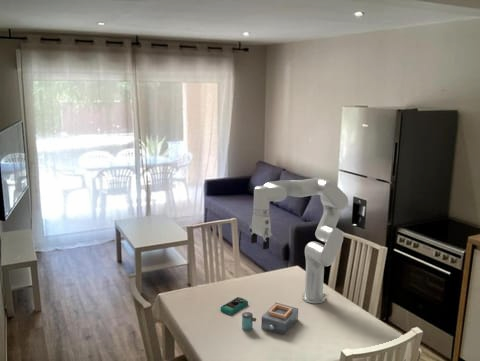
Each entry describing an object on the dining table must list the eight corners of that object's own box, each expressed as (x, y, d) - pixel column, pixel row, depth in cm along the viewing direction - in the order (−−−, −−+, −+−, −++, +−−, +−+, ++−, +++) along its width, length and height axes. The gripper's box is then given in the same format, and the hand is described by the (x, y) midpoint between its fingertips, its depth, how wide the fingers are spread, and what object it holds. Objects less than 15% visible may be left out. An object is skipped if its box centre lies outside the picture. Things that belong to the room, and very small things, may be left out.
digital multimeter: (249, 304, 227) (249, 299, 226) (231, 316, 215) (231, 310, 215) (238, 300, 231) (238, 295, 231) (219, 311, 220) (219, 306, 219)
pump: (245, 324, 207) (245, 310, 206) (257, 328, 204) (257, 314, 203) (239, 329, 203) (240, 315, 202) (252, 333, 200) (253, 319, 198)
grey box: (275, 313, 217) (275, 299, 216) (297, 319, 212) (298, 305, 210) (259, 330, 202) (259, 315, 200) (283, 337, 196) (283, 322, 195)
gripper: (278, 215, 202) (277, 249, 205) (256, 206, 216) (255, 239, 219) (265, 217, 197) (264, 252, 201) (244, 208, 212) (243, 241, 215)
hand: (259, 245), depth 210 cm, fingers open, 9 cm apart
